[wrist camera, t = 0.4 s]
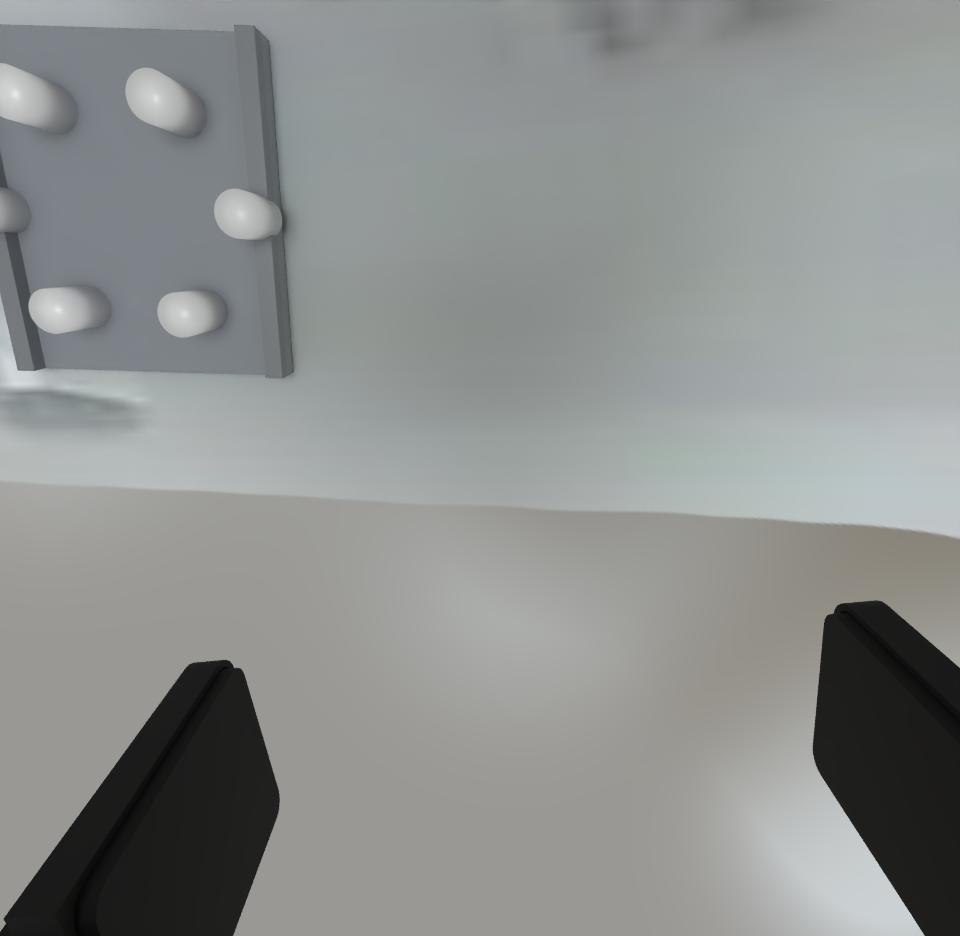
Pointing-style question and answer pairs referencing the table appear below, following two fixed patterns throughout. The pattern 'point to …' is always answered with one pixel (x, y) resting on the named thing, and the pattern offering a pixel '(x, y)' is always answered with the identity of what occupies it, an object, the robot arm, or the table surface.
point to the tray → (141, 201)
